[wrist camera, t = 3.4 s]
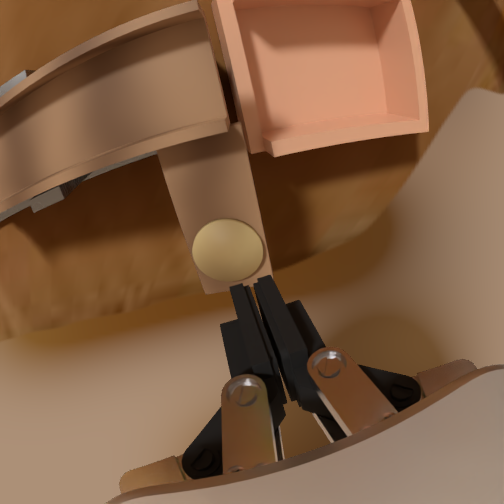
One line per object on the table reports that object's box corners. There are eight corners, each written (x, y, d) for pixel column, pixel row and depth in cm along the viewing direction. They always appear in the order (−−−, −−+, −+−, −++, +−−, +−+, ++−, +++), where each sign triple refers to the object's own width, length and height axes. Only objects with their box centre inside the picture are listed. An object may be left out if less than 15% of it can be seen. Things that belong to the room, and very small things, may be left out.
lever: (215, 10, 10) (206, -11, 7) (272, 272, 18) (278, 313, 15) (-56, 163, 12) (-85, 181, 9) (16, 311, 19) (-2, 338, 16)
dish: (372, 0, 17) (407, -11, 12) (392, 121, 23) (428, 131, 19) (211, 5, 16) (218, -18, 11) (244, 147, 22) (258, 160, 18)
